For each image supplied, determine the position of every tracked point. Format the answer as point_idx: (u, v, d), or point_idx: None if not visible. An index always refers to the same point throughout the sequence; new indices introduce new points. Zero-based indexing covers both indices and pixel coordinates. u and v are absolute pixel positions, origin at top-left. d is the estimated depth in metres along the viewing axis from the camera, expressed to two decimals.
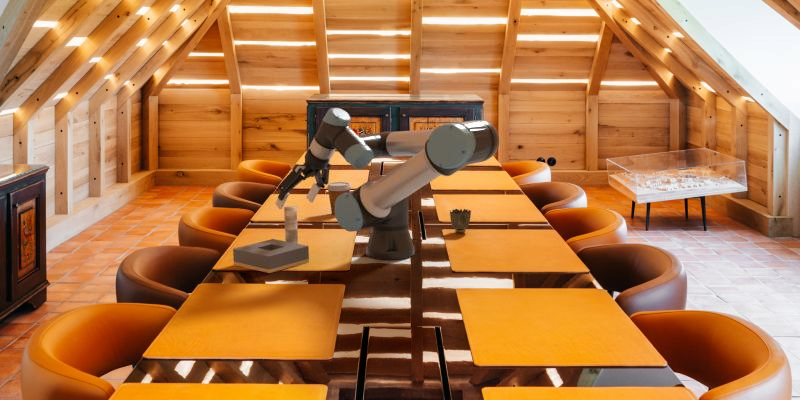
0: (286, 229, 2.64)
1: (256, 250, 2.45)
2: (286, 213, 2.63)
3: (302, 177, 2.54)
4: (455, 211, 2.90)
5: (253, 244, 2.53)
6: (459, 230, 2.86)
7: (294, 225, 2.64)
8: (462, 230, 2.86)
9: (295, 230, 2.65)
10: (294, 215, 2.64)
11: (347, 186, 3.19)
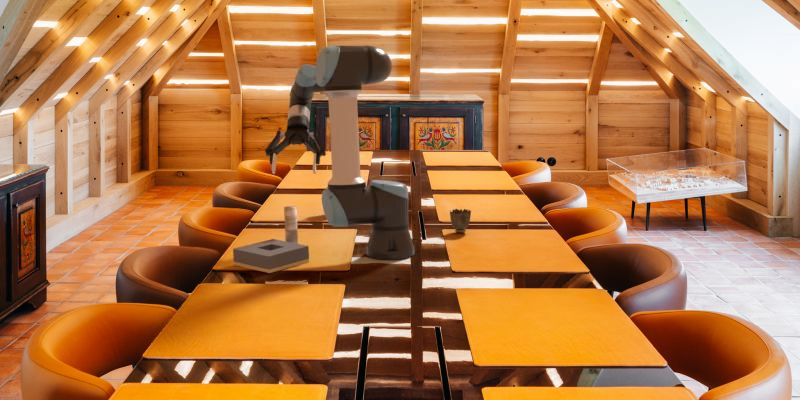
0: (286, 229, 2.64)
1: (256, 250, 2.45)
2: (286, 213, 2.63)
3: None
4: (455, 211, 2.90)
5: (253, 244, 2.53)
6: (459, 230, 2.86)
7: (294, 225, 2.64)
8: (462, 230, 2.86)
9: (295, 230, 2.65)
10: (294, 215, 2.64)
11: None
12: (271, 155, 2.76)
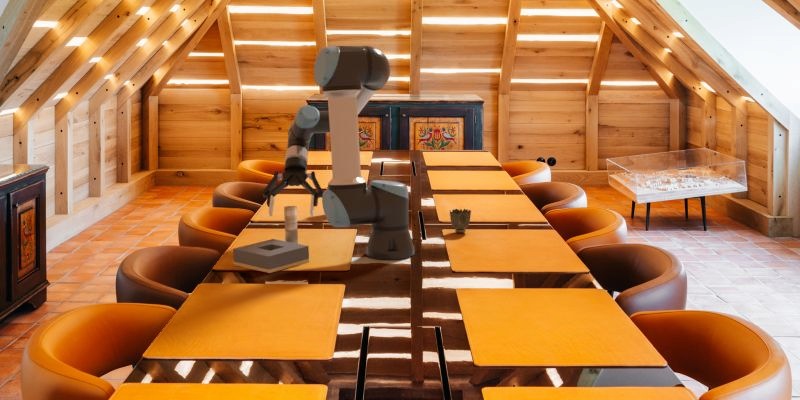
0: (286, 229, 2.64)
1: (256, 250, 2.45)
2: (286, 213, 2.63)
3: None
4: (455, 211, 2.90)
5: (253, 244, 2.53)
6: (459, 230, 2.86)
7: (294, 225, 2.64)
8: (462, 230, 2.86)
9: (295, 230, 2.65)
10: (294, 215, 2.64)
11: None
12: (268, 197, 2.73)
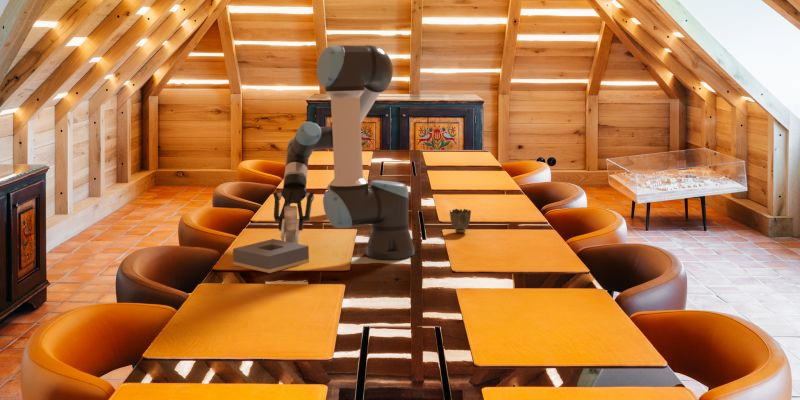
0: (286, 229, 2.64)
1: (256, 250, 2.45)
2: (286, 213, 2.63)
3: None
4: (455, 211, 2.90)
5: (253, 244, 2.53)
6: (459, 230, 2.86)
7: (294, 225, 2.64)
8: (462, 230, 2.86)
9: (295, 230, 2.65)
10: (294, 215, 2.64)
11: None
12: (280, 221, 2.65)
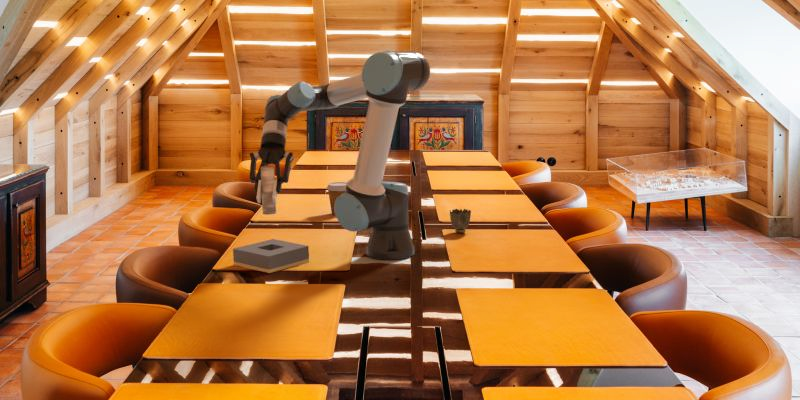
0: (263, 191, 2.45)
1: (256, 250, 2.45)
2: (262, 173, 2.44)
3: None
4: (455, 211, 2.90)
5: (253, 244, 2.53)
6: (459, 230, 2.86)
7: (271, 186, 2.44)
8: (462, 230, 2.86)
9: (272, 192, 2.45)
10: (271, 175, 2.44)
11: None
12: (256, 182, 2.46)
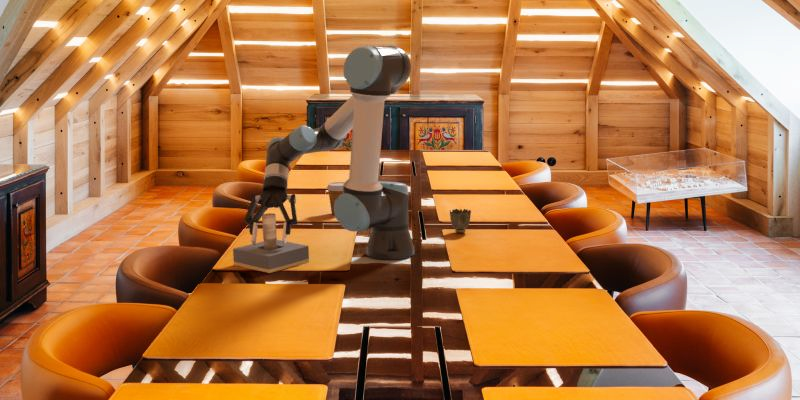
0: (264, 238, 2.47)
1: (256, 250, 2.45)
2: (264, 221, 2.46)
3: None
4: (455, 211, 2.90)
5: None
6: (459, 230, 2.86)
7: (273, 234, 2.47)
8: (462, 230, 2.86)
9: (274, 239, 2.47)
10: (272, 223, 2.46)
11: None
12: (251, 224, 2.48)
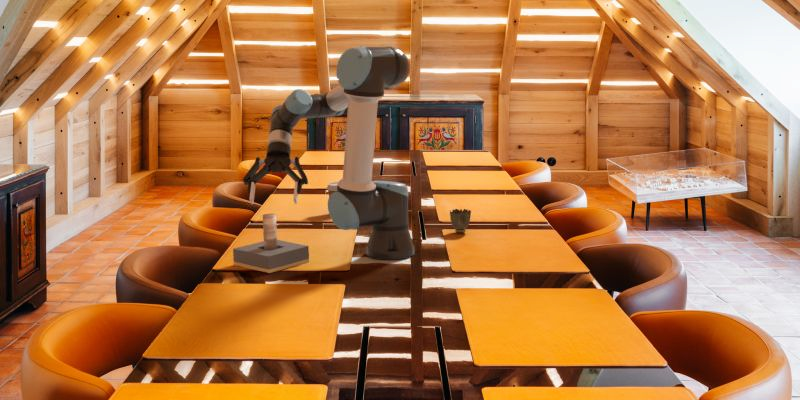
0: (265, 238, 2.47)
1: (256, 250, 2.45)
2: (265, 221, 2.46)
3: None
4: (455, 211, 2.90)
5: (253, 244, 2.53)
6: (459, 230, 2.86)
7: (273, 234, 2.47)
8: (462, 230, 2.86)
9: (274, 239, 2.47)
10: (273, 223, 2.46)
11: None
12: (249, 184, 2.57)
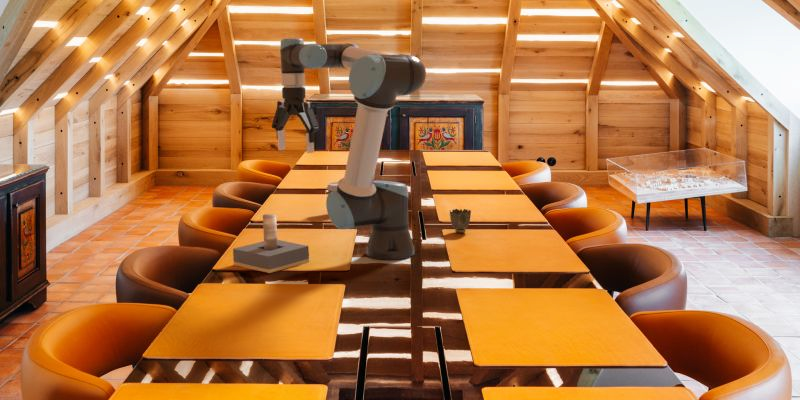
0: (265, 238, 2.47)
1: (256, 250, 2.45)
2: (265, 221, 2.46)
3: None
4: (455, 211, 2.90)
5: (253, 244, 2.53)
6: (459, 230, 2.86)
7: (273, 234, 2.47)
8: (462, 230, 2.86)
9: (274, 239, 2.47)
10: (273, 223, 2.46)
11: None
12: (277, 131, 2.75)
